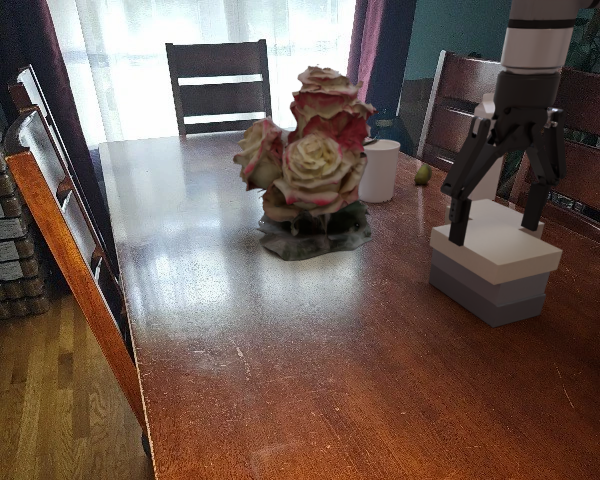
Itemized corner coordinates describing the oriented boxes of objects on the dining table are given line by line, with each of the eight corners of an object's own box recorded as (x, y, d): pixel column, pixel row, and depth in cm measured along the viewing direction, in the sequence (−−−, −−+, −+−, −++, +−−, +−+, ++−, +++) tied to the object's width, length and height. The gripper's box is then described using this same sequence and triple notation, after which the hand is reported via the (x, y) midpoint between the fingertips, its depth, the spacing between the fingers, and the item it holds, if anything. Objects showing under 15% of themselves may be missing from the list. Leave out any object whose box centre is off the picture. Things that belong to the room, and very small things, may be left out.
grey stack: (540, 314, 79) (553, 272, 74) (492, 327, 76) (503, 284, 72) (470, 272, 91) (478, 233, 87) (428, 282, 89) (433, 243, 84)
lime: (413, 186, 131) (416, 166, 128) (412, 181, 134) (415, 161, 131) (431, 187, 130) (434, 166, 127) (430, 181, 134) (432, 161, 131)
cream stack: (537, 255, 96) (546, 223, 92) (494, 265, 93) (501, 233, 89) (481, 227, 108) (487, 198, 104) (441, 235, 105) (446, 206, 101)
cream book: (557, 269, 75) (563, 250, 73) (493, 285, 72) (498, 265, 70) (486, 233, 87) (490, 216, 85) (429, 245, 83) (431, 227, 82)
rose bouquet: (236, 222, 114) (219, 62, 95) (361, 209, 118) (368, 54, 100) (251, 269, 95) (233, 80, 76) (400, 252, 99) (419, 69, 80)
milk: (460, 196, 124) (476, 91, 110) (484, 194, 125) (503, 89, 111) (470, 203, 119) (489, 95, 106) (494, 201, 120) (516, 93, 106)
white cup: (391, 205, 120) (396, 150, 112) (351, 202, 123) (353, 148, 115) (399, 193, 127) (403, 140, 120) (360, 190, 130) (362, 138, 122)
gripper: (582, 60, 70) (539, 215, 83) (428, 73, 63) (409, 240, 76) (628, 65, 65) (575, 230, 78) (466, 80, 57) (438, 259, 71)
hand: (493, 235), depth 77 cm, fingers open, 13 cm apart
